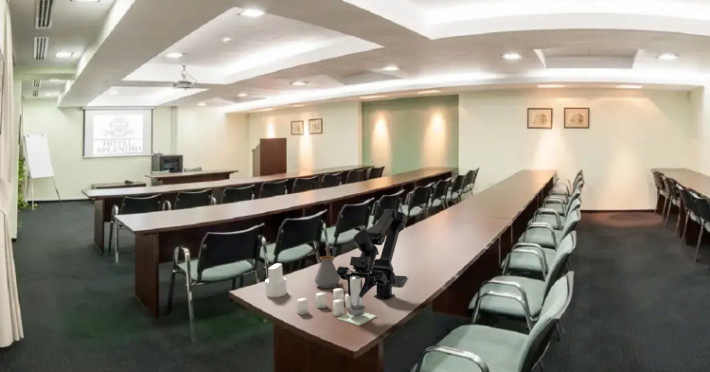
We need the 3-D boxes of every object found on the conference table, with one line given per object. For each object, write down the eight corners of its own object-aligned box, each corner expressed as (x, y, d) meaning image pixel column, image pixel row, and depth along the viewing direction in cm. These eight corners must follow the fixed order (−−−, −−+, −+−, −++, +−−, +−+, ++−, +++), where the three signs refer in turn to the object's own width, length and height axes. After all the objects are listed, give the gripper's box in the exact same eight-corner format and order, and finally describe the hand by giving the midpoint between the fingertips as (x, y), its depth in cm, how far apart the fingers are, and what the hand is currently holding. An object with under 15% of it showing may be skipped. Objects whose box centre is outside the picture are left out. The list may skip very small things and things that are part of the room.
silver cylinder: (350, 309, 169) (349, 275, 168) (366, 310, 168) (365, 275, 167) (347, 315, 163) (346, 279, 162) (363, 316, 162) (362, 280, 161)
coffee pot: (340, 289, 200) (339, 255, 199) (313, 289, 200) (312, 256, 199) (341, 275, 221) (340, 245, 220) (317, 276, 221) (316, 245, 220)
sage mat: (355, 311, 173) (355, 309, 173) (376, 317, 166) (376, 315, 166) (337, 319, 165) (337, 317, 165) (358, 325, 159) (358, 324, 159)
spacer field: (333, 298, 188) (332, 286, 188) (363, 306, 178) (362, 293, 177) (295, 313, 172) (294, 300, 172) (325, 322, 162) (325, 309, 162)
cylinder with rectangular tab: (282, 297, 191) (281, 269, 190) (262, 296, 193) (261, 268, 192) (289, 290, 200) (288, 263, 198) (270, 289, 201) (269, 263, 200)
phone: (384, 284, 203) (391, 275, 217) (384, 286, 203) (391, 277, 217) (401, 285, 201) (407, 276, 215) (401, 288, 201) (407, 278, 215)
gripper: (337, 245, 171) (323, 282, 162) (383, 249, 163) (371, 288, 154) (348, 260, 179) (335, 296, 170) (392, 265, 170) (381, 303, 162)
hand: (354, 296), depth 164 cm, fingers closed on silver cylinder, 4 cm apart
